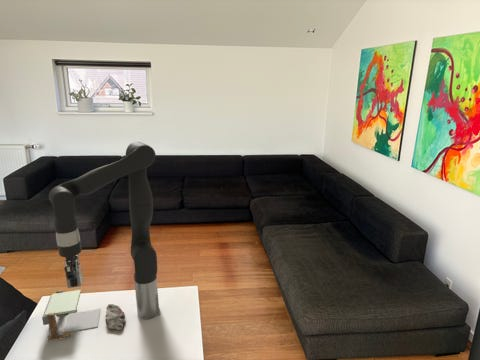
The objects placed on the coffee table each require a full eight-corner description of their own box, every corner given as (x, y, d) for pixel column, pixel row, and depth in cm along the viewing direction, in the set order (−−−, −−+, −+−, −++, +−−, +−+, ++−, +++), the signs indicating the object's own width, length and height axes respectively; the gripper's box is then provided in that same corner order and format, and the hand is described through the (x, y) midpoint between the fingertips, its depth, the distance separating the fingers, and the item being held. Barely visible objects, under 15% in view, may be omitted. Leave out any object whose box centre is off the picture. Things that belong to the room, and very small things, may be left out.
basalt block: (82, 279, 132) (80, 265, 130) (81, 286, 128) (78, 271, 126) (70, 281, 131) (67, 267, 129) (67, 288, 127) (65, 273, 125)
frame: (77, 309, 154) (73, 287, 151) (69, 337, 137) (65, 313, 134) (57, 312, 152) (53, 290, 149) (47, 341, 135) (43, 316, 132)
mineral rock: (125, 331, 141) (124, 322, 140) (104, 334, 139) (103, 325, 138) (126, 308, 155) (125, 300, 154) (107, 312, 153) (106, 303, 152)
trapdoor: (82, 298, 151) (80, 289, 150) (76, 319, 138) (75, 309, 137) (51, 303, 148) (50, 294, 147) (43, 325, 135) (41, 315, 134)
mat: (100, 309, 154) (100, 308, 154) (97, 327, 143) (97, 326, 143) (68, 314, 151) (68, 313, 151) (63, 333, 140) (63, 332, 140)
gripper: (76, 248, 119) (83, 291, 124) (82, 231, 132) (88, 270, 137) (52, 251, 117) (60, 295, 122) (61, 234, 130) (68, 273, 135)
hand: (75, 282), depth 129 cm, fingers closed on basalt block, 4 cm apart
